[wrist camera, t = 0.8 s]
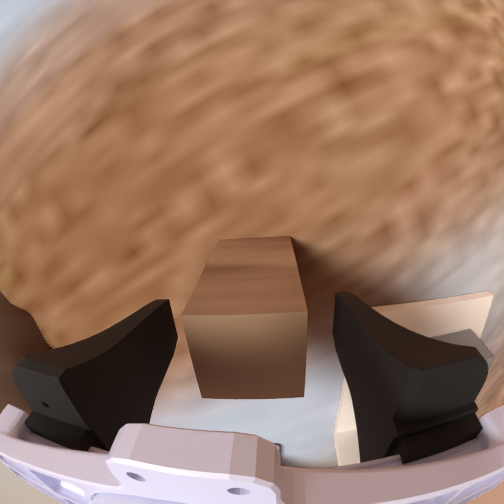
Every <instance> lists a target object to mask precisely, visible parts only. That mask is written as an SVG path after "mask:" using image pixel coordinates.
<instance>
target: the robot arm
mask: <svg viewBox="0 0 504 504" xmlns="http://www.w3.org/2000/svg"><path fill="white" fill-rule="evenodd" d="M333 337H334V342H335V347H336V352H337V355H338V358H339V361H340V364H341V367H342V370H343V373H344V376H345V379H346V382H347V385H348V388H349V391H350V395H351V399H352V404H353V410H354V415H355V422H356V428H357V436H358V445H359V454H360V463H356V464H350V465H344V466H337V467H329V468H320V469H313V468H298V467H287V466H281V454H280V452H279V446H278V445H275V444H274V443H272V442H270V441H268V440H266V439H263V438H261V437H259V436H257V435H252V434H245V433H239V432H223V431H206V430H193V429H183V428H174V427H166V426H159V425H152V424H149V423H150V418H151V414H152V410H153V406H154V403H155V399H156V396H157V393H158V391H159V388H160V386H161V383H162V381H163V379H164V376H165V374H166V372H167V369H168V367H169V365H170V362H171V360H172V357H173V355H174V351H175V347H176V343H177V339H178V335H177V331H176V327H175V323H174V319H173V315H172V310H171V306H170V302H169V299H163V300H155V301H152V302H151V303H149V304H147V305H146V306H144V307H142V308H141V309H139V310H138V311H136V312H135V313H133V314H132V315H130V316H128V317H127V318H125V319H124V320H122V321H120V322H118V323H117V324H115V325H113V326H112V327H110V328H108V329H106V330H104V331H102V332H100V333H98V334H96V335H94V336H92V337H89V338H87V339H84V340H81V341H79V342H76V343H73V344H70V345H67V346H63V347H60V348H56V349H51V350H46V351H40V352H33V353H27V354H25V355H24V356H23V358H22V359H21V360H20V361H19V362H18V363H17V364H16V365H15V366H14V367H13V370H12V377H13V380H14V383H15V385H16V386H17V388H18V390H19V391H20V393H21V394H22V396H23V397H24V399H25V400H26V402H27V403H28V405H29V406H30V408H31V409H32V410H33V411H32V412H31V413H30V415H28V414H27V413H26V412H25V411H23V410H21V409H19V408H17V407H15V406H13V405H11V404H8V405H7V406H6V407H5V409H4V410H3V411H2V413H1V414H0V461H1V462H2V463H3V464H4V465H5V466H6V467H8V468H9V469H10V470H11V471H12V472H13V473H14V474H15V475H16V476H18V477H19V478H21V479H22V480H24V481H25V482H27V483H29V484H30V485H32V486H34V487H35V488H37V489H39V490H40V491H42V492H44V493H45V494H47V495H49V496H51V497H52V498H54V499H56V500H57V501H59V502H61V503H63V504H466V503H468V502H469V501H471V500H473V499H475V498H477V497H479V496H480V495H482V494H484V493H486V492H488V491H489V490H491V489H493V488H494V487H496V486H497V485H498V484H500V483H501V482H502V481H503V480H504V405H502V406H500V407H498V408H496V409H494V410H492V411H489V412H487V413H486V414H484V415H483V416H481V417H480V418H479V419H478V418H477V416H476V414H475V412H477V410H478V407H477V405H476V403H475V402H474V401H475V399H476V397H477V396H478V394H479V392H480V390H481V388H482V386H483V384H484V382H485V380H486V377H487V375H488V368H489V367H488V363H487V361H486V360H485V359H484V357H483V356H482V355H481V353H480V352H479V351H478V350H477V348H476V347H471V346H464V345H457V344H452V343H447V342H443V341H439V340H436V339H432V338H429V337H426V336H424V335H421V334H418V333H416V332H413V331H411V330H409V329H407V328H405V327H403V326H400V325H398V324H397V323H395V322H393V321H391V320H390V319H388V318H386V317H385V316H383V315H382V314H380V313H378V312H377V311H376V310H374V309H373V308H371V307H370V306H368V305H367V304H366V303H364V302H363V301H362V300H360V299H359V298H357V297H356V296H355V295H353V294H352V293H350V292H344V293H336V295H335V310H334V323H333Z"/></svg>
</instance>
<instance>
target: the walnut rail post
mask: <svg viewBox="0 0 504 504" xmlns="http://www.w3.org/2000/svg"><path fill="white" fill-rule="evenodd" d="M181 316H182V321H183V325H184V330H185V334H186V338H187V342H188V347H189V351H190V355H191V359H192V363H193V367H194V370H195V374H196V378H197V382H198V385H199V389H200V392H201V396H202V398H213V399H276V398H296V397H304V389H305V371H306V350H307V320H308V311H307V306H306V302H305V297H304V293H303V288H302V284H301V280H300V275H299V271H298V267H297V263H296V259H295V254H294V250H293V246H292V242H291V238H290V236H282V237H263V238H244V239H227V240H219V241H218V243H217V245H216V247H215V249H214V251H213V253H212V255H211V257H210V259H209V261H208V263H207V265H206V267H205V269H204V271H203V273H202V275H201V277H200V279H199V280H198V282H197V284H196V286H195V289H194V291H193V293H192V295H191V297H190V299H189V301H188V303H187V305H186V307H185V309H184V311H183V313H182V315H181Z"/></svg>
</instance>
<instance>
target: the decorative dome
mask: <svg viewBox="0 0 504 504" xmlns="http://www.w3.org/2000/svg"><path fill="white" fill-rule="evenodd" d="M46 350H51V348H50V347H49V346H48V345H47V344H46V342H45V340H44V338H43V336H42V334H41V332H40V331H39V329H38V327H37V325H36V323H35V321H34V319H33V317H32V316H31V315H30V314H29V313H28V312H26V311H24V310H22V309H20V308H18V307H16V306H14V305H13V304H11V303H10V302H9V301H8V300H7V299H6V298H5V297H4V295H3V294H2V293H1V292H0V414H1V413H2V411H3V410H4V409H5V407H6V406H7V405H8V404H11V405H13V406H15V407H17V408H19V409H21V410H23V411H25V412H26V413H27V414H28V415H30V413H31V412H32V411H33V410H32V409H31V408H30V406H29V405H28V403H27V402H26V400H25V399H24V397H23V396H22V394H21V393H20V391H19V390H18V388H17V386H16V385H15V383H14V380H13V377H12V370H13V367H14V366H15V365H16V364H17V363H18V362H19V361H20V360H21V359H22V358H23V356H24V355H25V354H27V353H33V352H40V351H46Z"/></svg>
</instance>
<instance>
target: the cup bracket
mask: <svg viewBox="0 0 504 504" xmlns="http://www.w3.org/2000/svg"><path fill="white" fill-rule="evenodd" d="M493 296H494V295H493V294H492V293H490V292H489V291H484V292H478V293H472V294H466V295H460V296H454V297H447V298H441V299H434V300H427V301H419V302H411V303H403V304H395V305H386V306H377V307H371V308H373V309H374V310H376V311H377V312H378V313H380V314H382V315H383V316H385V317H386V318H388V319H390V320H391V321H393V322H395V323H397V324H398V325H400V326H403V327H405V328H407V329H409V330H411V331H413V332H416V333H418V334H421V335H424V336H426V337H429V338H432V339H436V340H439V341H443V342H447V343H452V344H457V345H464V346H471V347H476V348H477V350H478V351H479V352H480V353H481V355H482V356H483V357H484V359H485V360H486V361H487V363H488V367H489V368H490V366H491V364H492V362H493V359H494V357H495V356H494V355H493V354H492V353H491V352H490V350H489V349H488V348H487V347H486V346H485V345H484V343H483V342H482V341H481V340H480V337H481V334H482V331H483V328H484V325H485V322H486V319H487V316H488V313H489V310H490V306H491V303H492V299H493ZM489 368H488V370H489ZM333 437H334V442H335V448H336V454H337V461H338V466H344V465H350V464H356V463H360V454H359V445H358V436H357V428H356V422H355V415H354V410H353V404H352V399H351V395H350V391H349V388H348V385H347V382H346V379H345V376H344V380H343V386H342V391H341V396H340V402H339V407H338V412H337V416H336V421H335V426H334V430H333Z"/></svg>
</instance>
